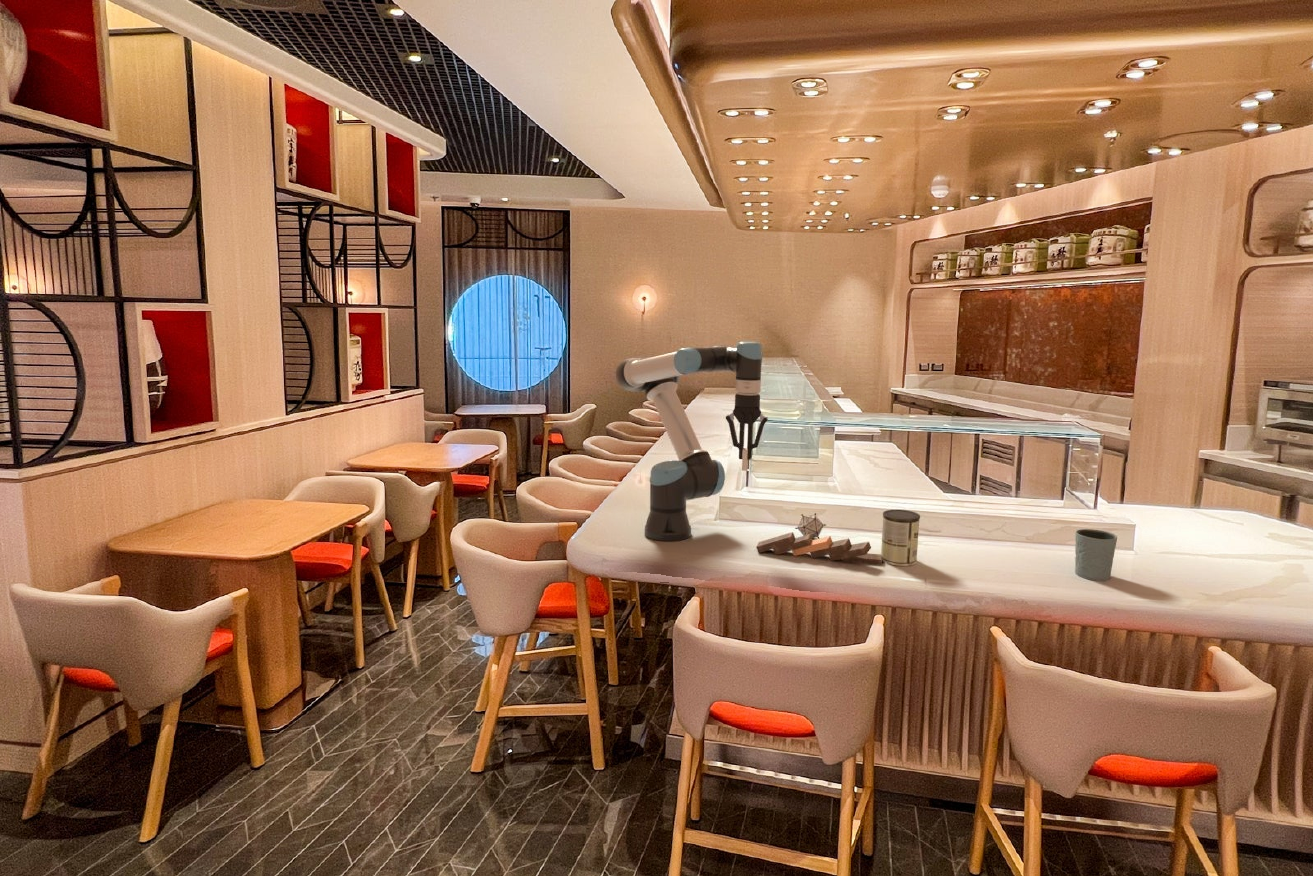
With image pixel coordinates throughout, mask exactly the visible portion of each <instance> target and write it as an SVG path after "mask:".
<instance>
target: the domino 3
mask: <svg viewBox="0 0 1313 876" xmlns="http://www.w3.org/2000/svg"><path fill="white" fill-rule="evenodd" d="M832 539H833V538H832V537H831V535H828V536H824V537H819V539H818V538H816V539H812V542H811V545H809V546H806V547H802V548H799V549H795V550H792V551H791V552H792V554H793V557H795V556H800V555H805V554H808V553H809V554H810V552H813V551H818V550H822V549H826V548H829V546H830V545H831V544H832V542H833V540H832Z"/></svg>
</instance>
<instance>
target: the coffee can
mask: <svg viewBox="0 0 1313 876" xmlns="http://www.w3.org/2000/svg"><path fill="white" fill-rule="evenodd" d="M882 516H883V517H882V532H881V533H882V534H881V552H880V554H881V558H882V563H885V564H889V565H892V566H897V567H898V566H899V567H908V566H909V567H911V566H914V565H916V564H917V562H918V559H917V558H918V548H919V547H918V545H919V533H920V532H919V530H920V529H919V528H920V519H921V515H920V514H919V513H917V512H915V511H911V510H906V509H889V510H884V511H883V512H882Z"/></svg>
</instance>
